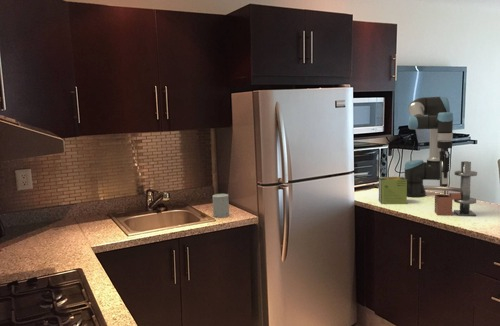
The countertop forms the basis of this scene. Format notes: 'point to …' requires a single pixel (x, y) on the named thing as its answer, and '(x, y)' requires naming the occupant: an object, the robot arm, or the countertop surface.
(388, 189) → the protein box
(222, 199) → the grey-green cylinder
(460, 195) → the post with bracket
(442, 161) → the dark grey cylinder
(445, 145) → the robot arm
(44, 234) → the countertop surface
